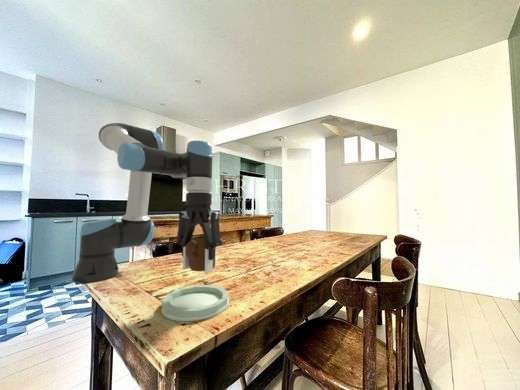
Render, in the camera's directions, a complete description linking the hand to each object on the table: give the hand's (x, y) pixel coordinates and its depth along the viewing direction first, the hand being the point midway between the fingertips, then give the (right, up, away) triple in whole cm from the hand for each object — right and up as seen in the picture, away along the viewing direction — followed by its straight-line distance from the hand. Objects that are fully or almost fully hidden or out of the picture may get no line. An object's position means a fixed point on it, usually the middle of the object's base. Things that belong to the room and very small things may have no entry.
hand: (197, 269), depth 63 cm
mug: (0, 0, 0) cm, 1 cm away
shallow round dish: (0, -10, -1) cm, 10 cm away
